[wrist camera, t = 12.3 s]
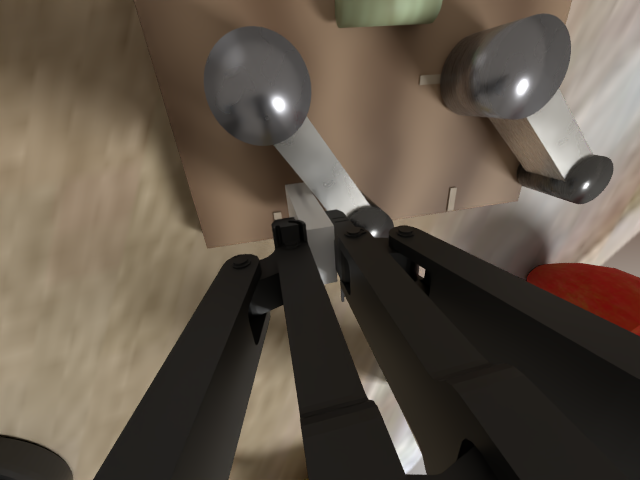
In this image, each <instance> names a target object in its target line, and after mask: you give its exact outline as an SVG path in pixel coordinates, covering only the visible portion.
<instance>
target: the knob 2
mask: <svg viewBox="0 0 640 480" xmlns="http://www.w3.org/2000/svg"><path fill="white" fill-rule="evenodd" d="M570 54H571V41H570V36H569V32H568V30H567V28H566V26H565V24H564V23H563V22H562V20H560V19H559V18H558V17H556V16H554V15H551V14H544V13H542V14H536V15H533V16H530V17H526V18H523V19H520V20H516V21H513V22H510V23H506V24H503V25H500V26H496V27H493V28H490V29H486V30H483V31H480V32H476V33H473V34H471V35H469V36H467V37H465V38H464V39H462V40H461V41H460V42H459V43H458V44H457V45H456V46H455V47H454V48H453V49H452V51H451V52H450V54H449V55H448V57H447V59H446V61H445V64H444V66H443V69H442V73H441V80H440V89H441V95H442V98H443V101H444V103H445V105H446V106H447V107H448V108H449V110H451V111H452V112H454V113H455V114H458V115H463V116H475V117H488V118H489V119H490V121H491V122H492V124H493V125H494V127H495V128H496V129H497V131H498V132H499V134H500V135H501V136H502V138H503V139H504V141H505V142H506V144H507V145H508V146H509V148H510V149H511V151H512V152H513V153H514V155H515V156H516V158H517V159H518V161H519V162H520V165H519V167H518V170H517V180H518V182H519V183H520V185H522V186H524V187H527V188H530V189H533V190H536V191H539V192H542V193H545V194H548V195H551V196H554V197H557V198H561V199H564V200H567V201H570V202H573V203H576V204H584V203H587V202H589V201H591V200H593V199H594V198H596V197H597V196H598V195H599V194H600V193H601V192H602V191H603V190H604V189H605V188H606V186H607V185H608V183H609V181H610V179H611V177H612V174H613V163H612V161H611V160H610V159H609V158H608V157H604V156H598V155H593V153H592V151H591V149H590V147H589V146H588V144H587V142H586V140H585V138H584V136H583V134H582V132H581V130H580V128H579V126H578V124H577V122H576V120H575V118H574V116H573V115H572V113H571V111H570V109H569V107H568V105H567V103H566V101H565V99H564V97H563V95H562V93H561V91H560V89H559V87H560V85H561V83H562V81H563V79H564V77H565V74H566V72H567V69H568V65H569V61H570Z"/></svg>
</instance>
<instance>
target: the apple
mask: <svg viewBox="0 0 640 480" xmlns="http://www.w3.org/2000/svg"><path fill="white" fill-rule="evenodd" d="M527 282H529V283H531V284H533V285H535V286H537V287H539V288H541V289H543V290H545V291H548V292H550V293H552V294H554V295H556V296H558V297H560V298H562V299H564V300H566V301H568V302H570V303H572V304H574V305H576V306H579V307H581V308H583V309H585V310H587V311H589V312H591V313H593V314H595V315H597V316H599V317H601V318H603V319H605V320H607V321H610V322H612V323H614V324H616V325H618V326H620V327H622V328H624V329H626V330H628V331H630V332H632V333H634V334H636V335H638V336H640V278H639V277H636V276H634V275H631V274H629V273H626V272H623V271H621V270H618V269H616V268H609V267H603V266H596V265H590V264H583V263H556V264H544V265H540V266H538V267H536V268H534V269H533V270H532V271H531V272H530V273H529V274H528V276H527Z"/></svg>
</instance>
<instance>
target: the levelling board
mask: <svg viewBox="0 0 640 480" xmlns="http://www.w3.org/2000/svg"><path fill="white" fill-rule="evenodd" d="M571 2H572V0H134V3H135V6H136V9H137V13H138V16H139V19H140V23H141V26H142V30H143V33H144V36H145V40H146V43H147V46H148V50H149V53H150V57H151V60H152V63H153V67H154V70H155V73H156V77H157V80H158V83H159V87H160V90H161V94H162V97H163V100H164V104H165V107H166V110H167V114H168V117H169V121H170V124H171V127H172V131H173V134H174V137H175V141H176V144H177V148H178V151H179V154H180V158H181V161H182V164H183V168H184V171H185V175H186V178H187V181H188V185H189V188H190V191H191V195H192V198H193V201H194V205H195V208H196V212H197V215H198V218H199V222H200V225H201V228H202V232H203V235H204V239H205V242H206V245H207V248H214V247H220V246H227V245H233V244H240V243H247V242H253V241H260V240H266V239H273V233H272V226H271V224H272V223H273V221H274V220H277V219H283V218H289V211H288V204H287V197H286V190H285V185H288V184H295V183H303V180H302V179H301V178H300V177H299V175H298V174H297V173H296V172H295V171H294V169H293V168H292V167H291V166H290V164H289V163H288V162H287V161H286V160H285V158H284V157H283V156H282V155H281V153H280V152H279V151H278V150H277V149H276V147H275V146H274V145H269V146H257V145H251V144H248V143H245V142H243V141H241V140H238V139H237V138H235V137H233V136H232V135H231V134H229V133H228V132H227V131H226V130H225V129H224V128H223V127H222V126H221V125H220V124H219V123H218V121H217V120H216V118H215V117H214V115H213V114H212V112H211V110H210V107H209V105H208V102H207V99H206V95H205V91H204V70H205V65H206V61H207V58H208V56H209V54H210V51H211V50H212V48H213V47H214V45H215V44H216V43H217V42H218V41H219V39H220V38H222V37H223V36H224V35H225V34H227V33H229V32H230V31H232V30H235V29H237V28H241V27H246V26H258V27H264V28H267V29H270V30H272V31H275V32H277V33H278V34H280V35H282V36H283V37H285V38H286V39H287V40H288V41H289V42H290V43H291V44H292V45H293V46H294V47H295V48H296V49H297V51H298V52H299V53H300V55H301V57H302V58H303V60H304V62H305V64H306V67H307V69H308V73H309V76H310V81H311V103H310V108H309V111H308V114H307V117H308V119H309V120H310V122H311V123H312V124H313V126H314V127H315V129H316V130H317V132H318V133H319V134H320V136H321V137H322V139H323V140H324V141H325V143H326V144H327V146H328V147H329V148H330V150H331V151H332V153H333V154H334V155H335V157H336V158H337V160H338V161H339V162H340V164H341V165H342V167H343V168H344V170H345V171H346V172H347V174H348V175H349V177H350V178H351V179H352V181H353V182H354V184H355V185H356V186H357V188H358V189H359V191H361V192H363V193H364V194H365V195H366V196H367V197H368V198H369V199H371V200H372V201H373V202H374V203H375V204H376V205H377V206H378V207H380V208H381V209H382V210H383V211H384V212H385V213H386V214H388V215H389V217H390V218H391V219H392V220H397V219H403V218H410V217H417V216H423V215H430V214H436V213H443V212H449V211H456V210H462V209H469V208H475V207H482V206H488V205H495V204H502V203H508V202H515V201H518V198H519V194H520V190H521V187H522V185H520V183H519V182H518V180H517V170H518V167H519V165H520V162H519V161H518V159H517V158H516V156H515V155H514V153H513V152H512V151H511V149H510V148H509V146H508V145H507V144H506V142H505V141H504V139H503V138H502V136H501V135H500V134H499V132H498V131H497V129H496V128H495V127H494V125H493V124H492V122H491V121H490V119H489V118H488V117H475V116H463V115H458V114H455V113H454V112H452V111H451V110H449V108H448V107H447V106H446V105H445V103H444V101H443V98H442V95H441V89H440V80H441V73H442V69H443V66H444V64H445V61H446V59H447V57H448V55H449V54H450V52H451V51H452V49H453V48H454V47H455V46H456V45H457V44H458V43H459V42H460V41H461V40H462V39H464V38H465V37H467V36H469V35H471V34H473V33H476V32H480V31H483V30H486V29H490V28H493V27H496V26H500V25H503V24H506V23H510V22H513V21H516V20H520V19H523V18H526V17H530V16H533V15H536V14H542V13H544V14H551V15H554V16H556V17H558V18H559V19H560V20H562V22H563V23H564V24H566V21H567V17H568V13H569V10H570V6H571ZM311 192H312V191H311ZM312 193H313V192H312ZM313 195H314V194H313ZM314 196H315V195H314ZM315 198H316V199H317V197H316V196H315ZM317 201H318V202H319V204H320V205H321V207H322V208H323V210H324V211H327V210H326V208H325V207H324V206H323V205H322V203H321V202H320V201H319V200H318V199H317Z"/></svg>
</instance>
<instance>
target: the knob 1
mask: <svg viewBox="0 0 640 480" xmlns="http://www.w3.org/2000/svg"><path fill="white" fill-rule="evenodd" d="M204 91H205V95H206V99H207V102H208V105H209V107H210V110H211V112H212V114H213V115H214V117H215V118H216V120H217V121H218V123H219V124H220V125H221V126H222V127H223V128H224V129H225V130H226V131H227V132H228V133H229V134H231V135H232V136H233V137H235V138H237V139H238V140H241V141H243V142H245V143H248V144H251V145H257V146H269V145H274V146H275V147H276V149H277V150H278V151H279V152H280V153H281V155H282V156H283V157H284V158H285V160H286V161H287V162H288V163H289V164H290V166H291V167H292V168H293V169H294V171H295V172H296V173H297V174H298V175H299V177H300V178H301V179H302V180H303V182H304V183H305V184H306V185H307V186H308V188H309V189H310V190H311V191H312V192H313V194H314V195H315V196H316V197H317V199H318V200H319V201H320V202H321V203H322V205H323V206H324V207H325V208H326V210H327V211H329V210H335V209H337V210H339V211H342V212H344V214H345V215H346V216H347V217H348V219H349V220H350V221H351V222H352V223H353V225H354V226H355V227H361V228H364V229H366V230H368V231H369V232H370V233H371V234H372V235H373V237H376V238H388V236H389V231H390V229H392V228H394V225H393V222H392V219H391V218H390V217H389V215H388V214H386V213H385V212H384V211H383V210H382V209H381V208H380V207H378V206H377V205H376V204H375V203H374V202H373V201H372V200H371V199H369V198H368V197H367V196H366V195H365V194H364V193H363V192H361V191H359V189H358V188H357V186H356V185H355V184H354V182H353V181H352V179H351V178H350V177H349V175H348V174H347V172H346V171H345V170H344V168H343V167H342V165H341V164H340V162H339V161H338V160H337V158H336V157H335V155H334V154H333V153H332V151H331V150H330V148H329V147H328V146H327V144H326V143H325V141H324V140H323V139H322V137H321V136H320V134H319V133H318V132H317V130H316V129H315V127H314V126H313V124H312V123H311V122H310V120H309V119H308V117H307V114H308V111H309V108H310V103H311V81H310V76H309V73H308V69H307V67H306V64H305V62H304V60H303V58H302V57H301V55H300V53H299V52H298V51H297V49H296V48H295V47H294V46H293V45H292V44H291V43H290V42H289V41H288V40H287V39H286V38H285V37H283V36H282V35H280V34H278V33H277V32H275V31H272V30H270V29H267V28H264V27H258V26H246V27H241V28H237V29H235V30H232V31H230V32H229V33H227V34H225V35H224V36H223V37H222V38H220V39H219V41H218V42H217V43H216V44H215V45H214V47H213V48H212V50H211V51H210V54H209V56H208V58H207V61H206V65H205V70H204Z"/></svg>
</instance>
